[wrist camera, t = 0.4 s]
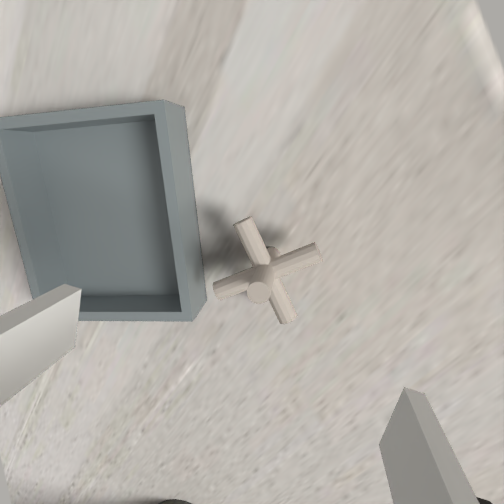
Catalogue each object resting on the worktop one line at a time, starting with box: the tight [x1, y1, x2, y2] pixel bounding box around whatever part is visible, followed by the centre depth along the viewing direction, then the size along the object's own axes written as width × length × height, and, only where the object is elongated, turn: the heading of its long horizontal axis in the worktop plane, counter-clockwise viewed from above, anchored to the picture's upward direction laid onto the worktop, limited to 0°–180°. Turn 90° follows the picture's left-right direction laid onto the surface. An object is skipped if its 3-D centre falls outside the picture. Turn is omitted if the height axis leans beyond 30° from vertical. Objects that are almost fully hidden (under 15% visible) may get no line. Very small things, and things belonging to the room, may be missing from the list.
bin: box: [0, 100, 207, 321], centre depth 35 cm, size 20×17×5 cm
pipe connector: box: [213, 217, 323, 324], centre depth 31 cm, size 10×10×10 cm
